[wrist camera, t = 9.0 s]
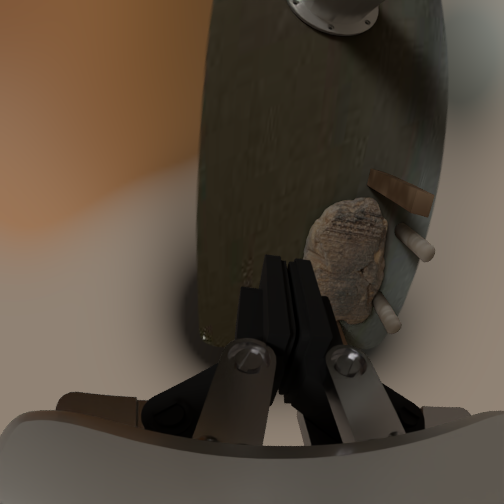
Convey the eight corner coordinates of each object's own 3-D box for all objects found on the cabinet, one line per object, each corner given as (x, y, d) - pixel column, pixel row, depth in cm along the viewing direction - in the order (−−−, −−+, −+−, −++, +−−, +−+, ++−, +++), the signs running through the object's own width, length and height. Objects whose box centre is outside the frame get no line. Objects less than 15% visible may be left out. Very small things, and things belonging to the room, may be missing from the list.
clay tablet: (314, 181, 35) (282, 307, 43) (324, 189, 30) (286, 327, 38) (401, 202, 36) (360, 314, 44) (418, 212, 31) (370, 332, 40)
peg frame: (370, 168, 33) (417, 189, 22) (421, 183, 34) (472, 209, 23) (321, 330, 45) (336, 384, 34) (366, 332, 45) (387, 381, 35)
